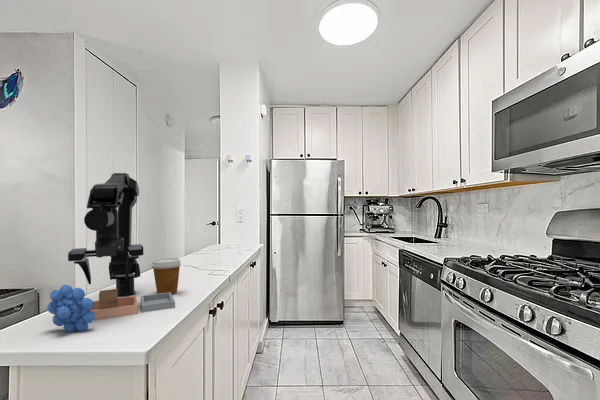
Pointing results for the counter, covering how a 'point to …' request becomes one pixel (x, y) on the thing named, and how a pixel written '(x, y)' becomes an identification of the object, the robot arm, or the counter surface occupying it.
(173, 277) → the disposable coffee cup
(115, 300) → the block
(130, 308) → the dish
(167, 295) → the tray
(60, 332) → the counter surface
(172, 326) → the counter surface
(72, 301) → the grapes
